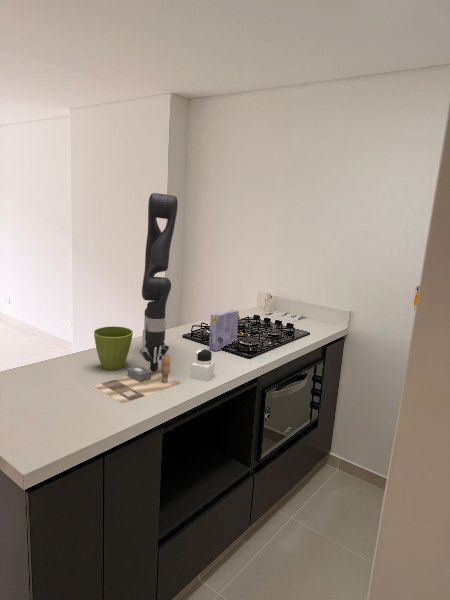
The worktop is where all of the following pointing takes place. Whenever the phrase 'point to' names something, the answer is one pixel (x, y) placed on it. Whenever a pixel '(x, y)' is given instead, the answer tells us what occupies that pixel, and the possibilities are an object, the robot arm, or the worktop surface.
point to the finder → (139, 374)
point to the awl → (165, 367)
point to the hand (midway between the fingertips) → (153, 370)
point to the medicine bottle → (203, 365)
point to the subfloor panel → (135, 387)
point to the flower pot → (113, 346)
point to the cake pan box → (223, 329)
